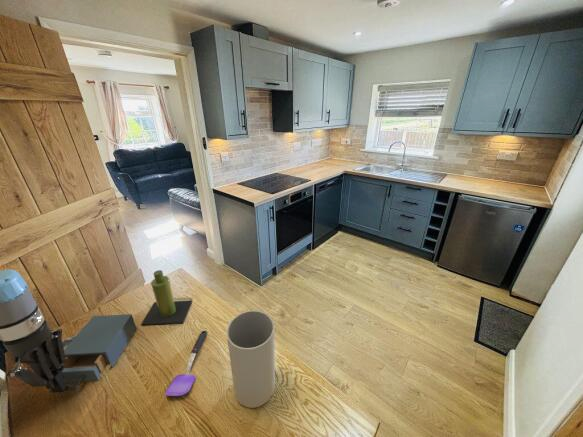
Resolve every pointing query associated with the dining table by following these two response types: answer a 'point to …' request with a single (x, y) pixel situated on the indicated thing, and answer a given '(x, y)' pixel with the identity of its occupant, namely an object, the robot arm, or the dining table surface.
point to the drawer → (82, 369)
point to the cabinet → (103, 337)
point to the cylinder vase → (252, 357)
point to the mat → (176, 318)
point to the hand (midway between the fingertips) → (60, 389)
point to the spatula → (185, 382)
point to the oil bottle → (163, 294)
